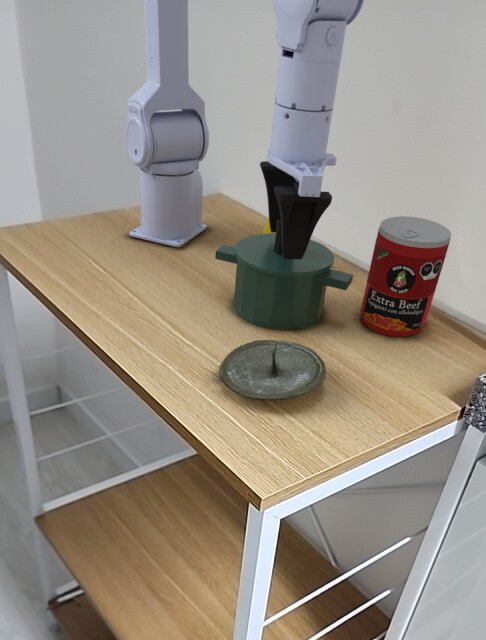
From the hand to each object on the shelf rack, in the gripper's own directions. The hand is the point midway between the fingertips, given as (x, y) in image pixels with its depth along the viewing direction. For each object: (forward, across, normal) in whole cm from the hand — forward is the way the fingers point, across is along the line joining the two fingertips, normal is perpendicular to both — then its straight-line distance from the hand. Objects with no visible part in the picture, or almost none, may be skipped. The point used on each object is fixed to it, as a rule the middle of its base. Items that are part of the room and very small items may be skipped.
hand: (285, 244), depth 71 cm
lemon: (+8, +12, -2) cm, 15 cm away
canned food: (+8, -3, -13) cm, 16 cm away
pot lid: (+1, 0, 0) cm, 1 cm away
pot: (+8, 0, 0) cm, 8 cm away
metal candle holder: (+8, -16, +4) cm, 18 cm away
